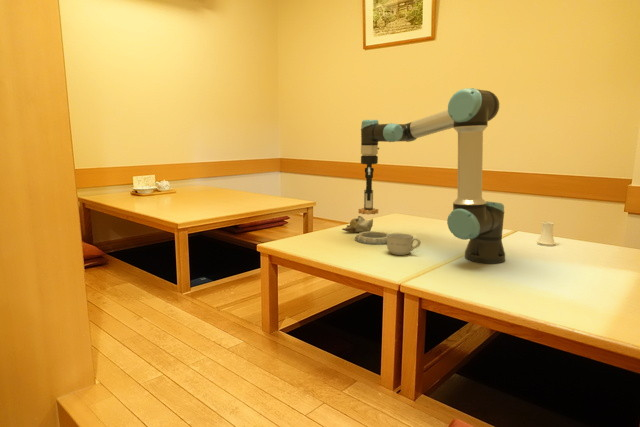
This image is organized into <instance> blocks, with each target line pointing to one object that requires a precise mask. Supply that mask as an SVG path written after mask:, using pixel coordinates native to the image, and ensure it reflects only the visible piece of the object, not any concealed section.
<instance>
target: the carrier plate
mask: <svg viewBox="0 0 640 427" xmlns="http://www.w3.org/2000/svg"><path fill="white" fill-rule="evenodd" d="M355 234H356V233H355ZM387 234H389V233H388V232H384V231H377V230H375V231H373V230H372V231H370V232H364V231H363V232H359V233H357V234H356V235H355V237H354V240H355V241H356V243H360V244H363V245H371V246H373V245H375V246H376V245H378V246H380V245H387Z"/></svg>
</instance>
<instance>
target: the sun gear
mask: <svg viewBox="0 0 640 427" xmlns="http://www.w3.org/2000/svg"><path fill="white" fill-rule="evenodd" d="M364 192H366V189H364V190H363V194H364V196H363V198H364V199H363V207H361V208H358V212H357V213H358V214H361V215H377V214H379V209H378V208H375V207H374V190H373V189H372V208H366V193H364Z"/></svg>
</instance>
